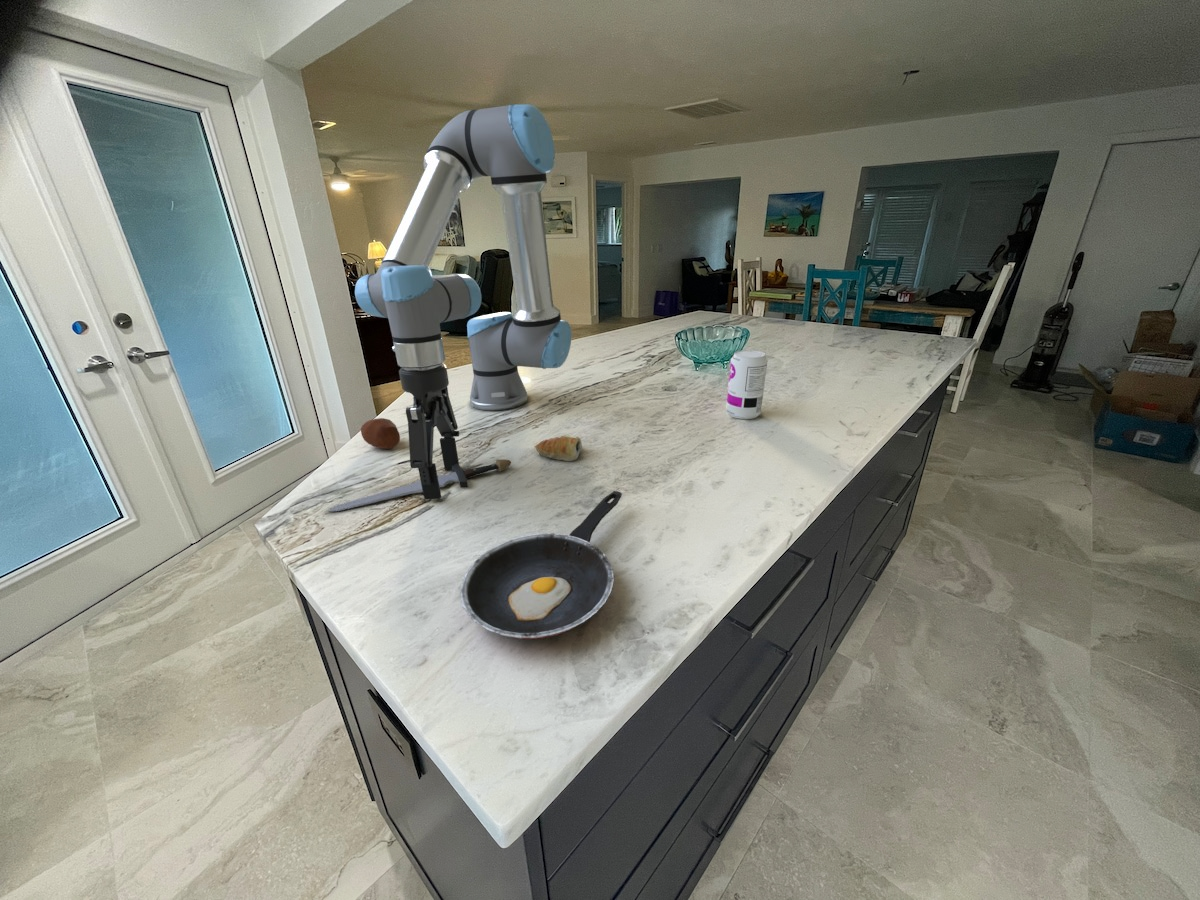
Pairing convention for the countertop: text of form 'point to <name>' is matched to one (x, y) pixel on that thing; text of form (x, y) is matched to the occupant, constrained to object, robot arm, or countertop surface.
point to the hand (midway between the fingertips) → (443, 482)
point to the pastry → (560, 448)
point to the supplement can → (746, 384)
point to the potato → (380, 433)
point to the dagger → (416, 487)
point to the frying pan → (540, 581)
